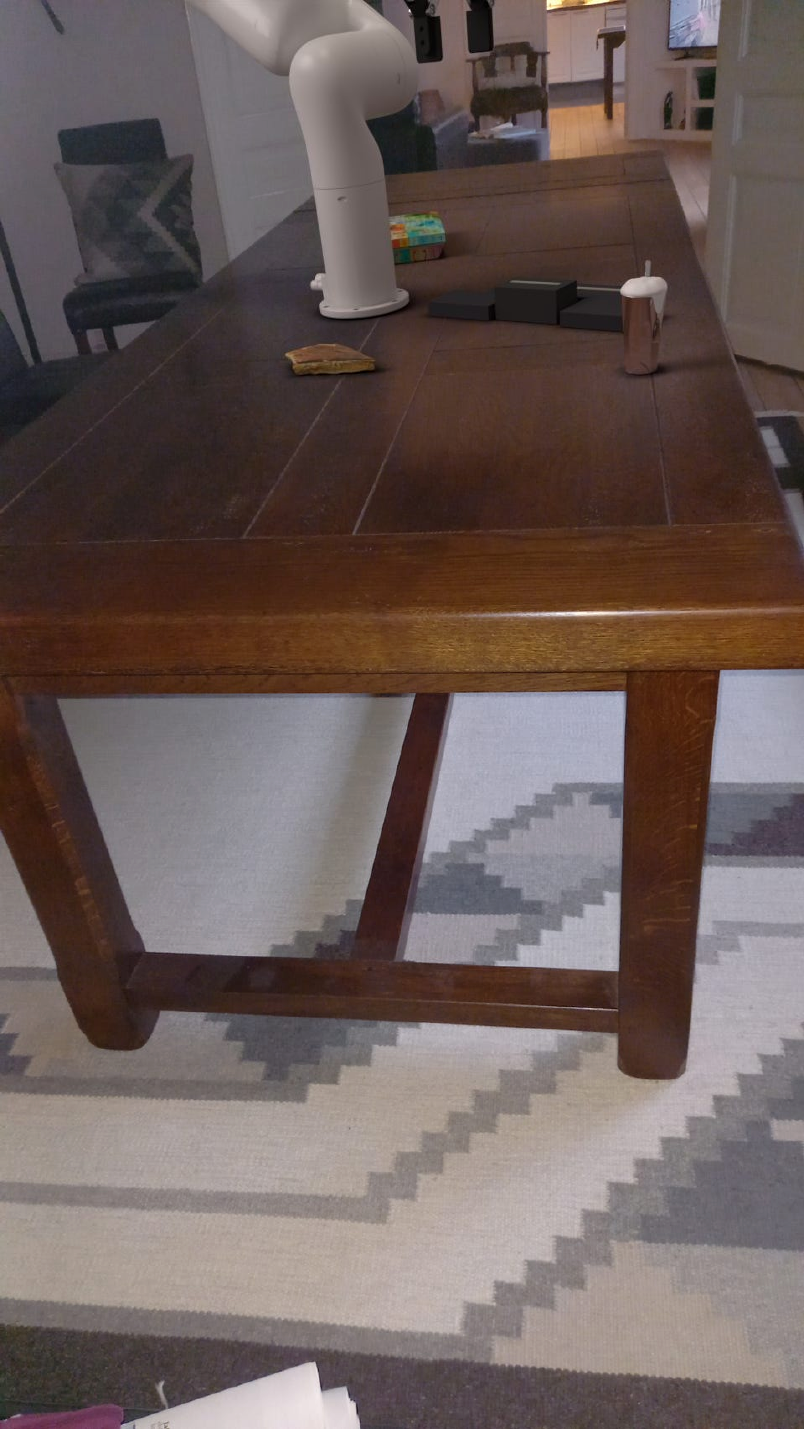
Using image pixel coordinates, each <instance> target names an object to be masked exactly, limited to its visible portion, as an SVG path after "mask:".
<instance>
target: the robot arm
mask: <svg viewBox="0 0 804 1429" xmlns="http://www.w3.org/2000/svg"><path fill="white" fill-rule="evenodd" d="M184 1H185V2H186V3H188V4H189V5H190V6H191V7H193V8H194V9H195V10H196V11H197V12H199V13H201V14H202V15H203V16H204V17H206V18H207V19H208V20H210V21H211V22H212V23H214V24H215V25H216V26H217V27H218V28H219V29H221V30H222V32H224V33H225V34H226V36H228V38H230V39H231V40H232V41H234V42H235V44H237V45H238V46H239V47H240V48H241V49H242V50H243V51H244V52H246V53H247V54H248V55H249V56H250V57H251V58H252V59H254V60H255V61H256V62H257V63H258V64H259V65H261V67H263V68H264V69H265V70H267V72H270V73H271V74H272V75H276V76H279V77H288V81H289V82H288V83H289V84H288V86H289V91H290V96H291V99H292V104H293V107H294V109H295V113H296V116H297V119H298V122H299V125H300V128H301V132H302V135H303V136H302V137H303V140H304V144H305V148H306V154H307V158H308V165H309V171H310V177H311V184H312V189H313V196H314V203H315V210H316V217H317V224H318V229H319V230H318V231H319V236H320V244H321V250H322V255H323V256H322V257H323V263H324V273H323V272H321V273H320V272H318V273H317V274H316V275H315V278H314V279H312V280H311V281H310V284H309V286H310V289H311V290H312V291H316V292H317V291H318V292H321V291H322V294H323V300H322V301H321V302H320V303H319V311H320V314H321V315H322V316H323V317H326V318H330V319H337V320H338V319H340V320H352V319H353V320H354V319H364V318H370V317H376V316H381V315H385V314H389V313H392V312H395V311H397V310H400V309H402V308H404V307H405V306H407V305H408V304H409V303H410V295H409V292H408V291H407V290H406V289H403V288H399V287H398V286H397V278H396V276H397V275H396V269H395V268H396V266H395V264H394V258H393V248H392V239H391V230H390V220H389V217H390V213H389V202H388V194H387V184H386V176H385V167H384V162H383V156H382V153H381V150H380V147H379V145H378V143H377V141H376V139H375V137H374V135H373V134H372V132H371V130H370V128H369V126H368V124H367V122H366V121H369V120H374V119H378V118H382V117H383V118H384V117H387V116H391V115H394V114H396V113H399V112H401V111H402V110H404V109H406V108H407V107H408V105H409V104H410V103H411V102H412V101H413V100H414V98H415V96H416V94H417V92H418V88H419V83H420V69H419V64H421V65H422V64H430V63H438V62H439V63H440V62H442V61H443V59H444V49H443V36H442V23H441V15H436V14H437V10H438V7H439V4H440V0H403V2H404V3H405V5H406V7H407V8H408V16H409V18H410V19H411V20H412V22H413V33H414V46H415V51H414V49H413V47H412V45H411V43H410V42H409V40H408V39H407V37H406V36H405V35H404V34H403V33H402V31H400V30H399V29H398V28H397V27H396V26H395V25H394V24H393V23H391V22H390V21H389V20H387V19H386V18H385V17H384V16H383V15H382V14H381V13H380V12H378V11H377V10H375V9H374V8H373V6H371V5H370V4H369V3H367V2H366V1H364V0H184ZM465 1H466V3H467V5H468V7H469V9H470V10H466V11H465V18H466V20H465V21H466V36H467V50H468V53H469V54H480V53H489V52H493V51H494V49H495V38H494V36H495V35H494V19H493V18H494V16H493V8H494V7H495V5H496V0H465Z"/></svg>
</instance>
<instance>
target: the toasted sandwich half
mask: <svg viewBox="0 0 804 1429" xmlns="http://www.w3.org/2000/svg"><path fill="white" fill-rule="evenodd" d="M285 357H286V358H287V359H288V360H289V361H290V362H292V369H293V371H294V373H295V374H296V375H297V376H303V375H308V374H309V375H318V374H331V375H335V374H342V373H357V372H362V371H373V370H375V369H376V367H375V363H376V362H377V358H373V357H371V356H369V355H365V354H363V353H361V352H360V351H358V350H355V349H353V348H352V347H349V346H346V345H343V344H339V343H337V342H336V343H332V344H331V343H330V344H329V343H327V344H326V343H318V344H313V345H309V346H306V347H302V348H298V349H297V348H296V349H294V350H291V351H288V352H287V353H285Z"/></svg>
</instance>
